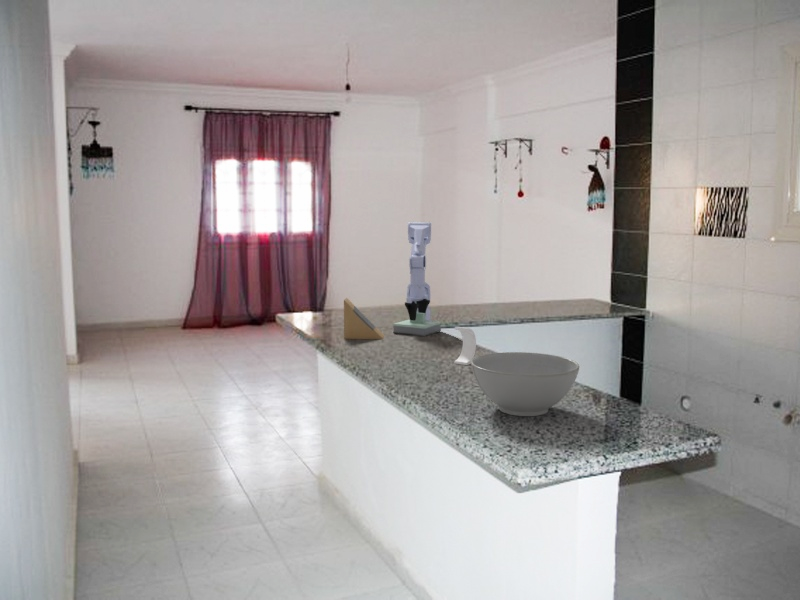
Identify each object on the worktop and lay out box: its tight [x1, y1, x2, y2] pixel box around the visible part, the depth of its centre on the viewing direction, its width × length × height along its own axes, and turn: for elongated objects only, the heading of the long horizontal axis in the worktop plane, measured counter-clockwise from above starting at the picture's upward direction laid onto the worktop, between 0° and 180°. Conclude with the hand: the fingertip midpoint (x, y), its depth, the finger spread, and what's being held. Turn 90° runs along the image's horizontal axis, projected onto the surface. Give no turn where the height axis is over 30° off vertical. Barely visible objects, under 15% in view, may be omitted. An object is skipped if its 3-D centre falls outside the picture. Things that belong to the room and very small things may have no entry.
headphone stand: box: [453, 326, 477, 366], centre depth 243 cm, size 5×6×12 cm
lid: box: [392, 312, 442, 329], centre depth 300 cm, size 14×14×5 cm
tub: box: [392, 324, 442, 337], centre depth 301 cm, size 14×14×3 cm
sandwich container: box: [343, 297, 385, 340], centre depth 289 cm, size 9×15×15 cm, turn 88°
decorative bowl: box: [470, 351, 580, 417], centre depth 188 cm, size 27×27×12 cm
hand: (417, 319), depth 300 cm, fingers open, 7 cm apart
